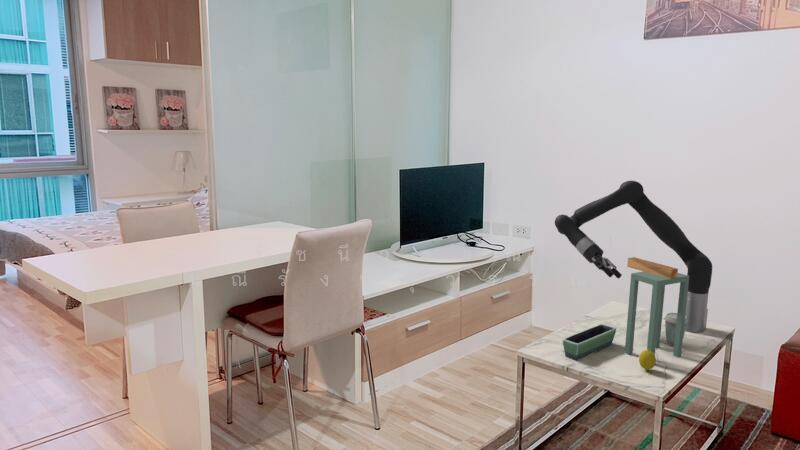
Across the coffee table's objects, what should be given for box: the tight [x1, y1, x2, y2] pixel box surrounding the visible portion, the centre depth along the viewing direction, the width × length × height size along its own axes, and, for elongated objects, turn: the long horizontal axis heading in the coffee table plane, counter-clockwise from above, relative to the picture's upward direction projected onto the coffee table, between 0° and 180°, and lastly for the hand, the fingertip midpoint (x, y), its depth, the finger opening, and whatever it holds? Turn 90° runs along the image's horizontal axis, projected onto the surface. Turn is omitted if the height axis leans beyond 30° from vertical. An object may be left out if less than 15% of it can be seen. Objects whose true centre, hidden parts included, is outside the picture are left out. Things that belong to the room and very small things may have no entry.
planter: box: [562, 323, 617, 361], centre depth 229 cm, size 28×7×7 cm, turn 130°
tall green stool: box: [624, 271, 689, 358], centre depth 223 cm, size 17×12×32 cm
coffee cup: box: [664, 312, 688, 347], centre depth 236 cm, size 8×9×12 cm
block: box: [626, 256, 679, 279], centre depth 223 cm, size 4×20×4 cm, turn 27°
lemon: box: [638, 348, 657, 371], centre depth 211 cm, size 6×6×8 cm
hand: (616, 276), depth 241 cm, fingers open, 8 cm apart
